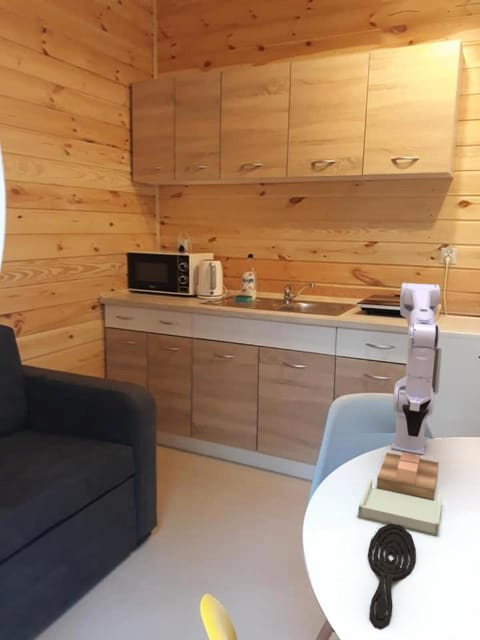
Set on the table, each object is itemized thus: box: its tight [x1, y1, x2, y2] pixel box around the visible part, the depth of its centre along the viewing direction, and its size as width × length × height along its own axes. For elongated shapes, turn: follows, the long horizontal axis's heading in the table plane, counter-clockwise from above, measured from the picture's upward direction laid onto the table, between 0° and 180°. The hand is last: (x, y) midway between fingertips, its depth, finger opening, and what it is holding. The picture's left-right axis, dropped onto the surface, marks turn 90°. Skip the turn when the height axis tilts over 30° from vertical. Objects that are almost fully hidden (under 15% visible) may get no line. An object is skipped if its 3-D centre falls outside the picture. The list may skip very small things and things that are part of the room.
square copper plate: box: [376, 452, 439, 501], centre depth 124 cm, size 14×12×3 cm
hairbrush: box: [367, 522, 417, 630], centre depth 92 cm, size 8×4×25 cm
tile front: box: [396, 461, 418, 484], centre depth 120 cm, size 4×4×3 cm
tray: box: [357, 478, 443, 537], centre depth 112 cm, size 13×15×2 cm
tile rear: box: [400, 452, 421, 474], centre depth 124 cm, size 4×4×3 cm
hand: (414, 430), depth 127 cm, fingers open, 6 cm apart
